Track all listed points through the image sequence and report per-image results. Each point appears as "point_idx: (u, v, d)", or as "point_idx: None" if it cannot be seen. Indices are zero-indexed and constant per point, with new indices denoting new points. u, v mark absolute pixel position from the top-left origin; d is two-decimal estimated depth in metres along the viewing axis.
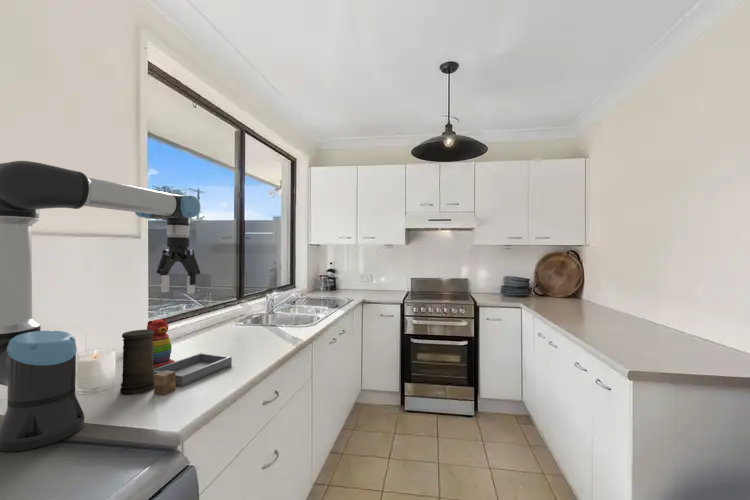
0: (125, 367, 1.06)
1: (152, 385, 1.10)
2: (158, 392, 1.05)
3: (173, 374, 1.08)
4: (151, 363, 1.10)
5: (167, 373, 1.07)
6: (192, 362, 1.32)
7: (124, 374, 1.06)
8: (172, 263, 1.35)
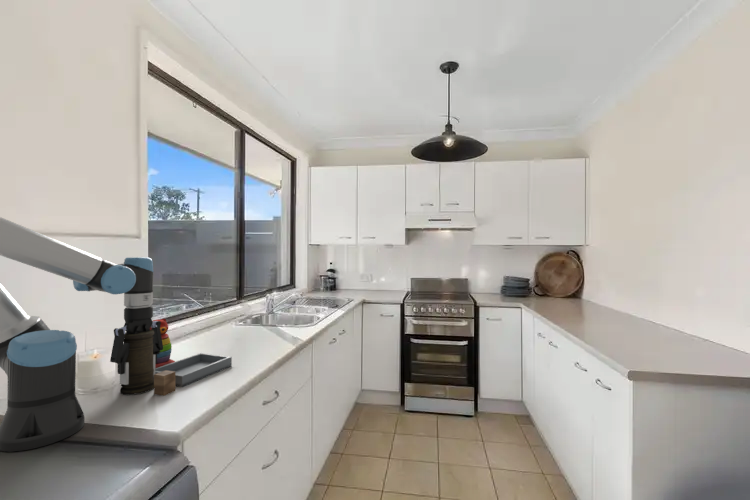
0: None
1: (152, 385, 1.10)
2: (158, 392, 1.05)
3: (173, 374, 1.08)
4: (151, 363, 1.10)
5: (167, 373, 1.07)
6: (192, 362, 1.32)
7: None
8: None
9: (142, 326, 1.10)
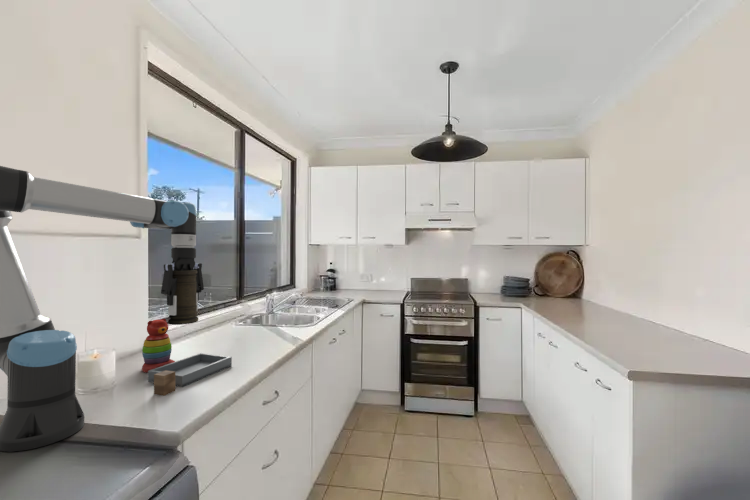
0: None
1: (196, 318, 1.21)
2: (158, 392, 1.05)
3: (173, 374, 1.08)
4: (195, 299, 1.21)
5: (167, 373, 1.07)
6: (192, 362, 1.32)
7: None
8: None
9: (187, 265, 1.21)
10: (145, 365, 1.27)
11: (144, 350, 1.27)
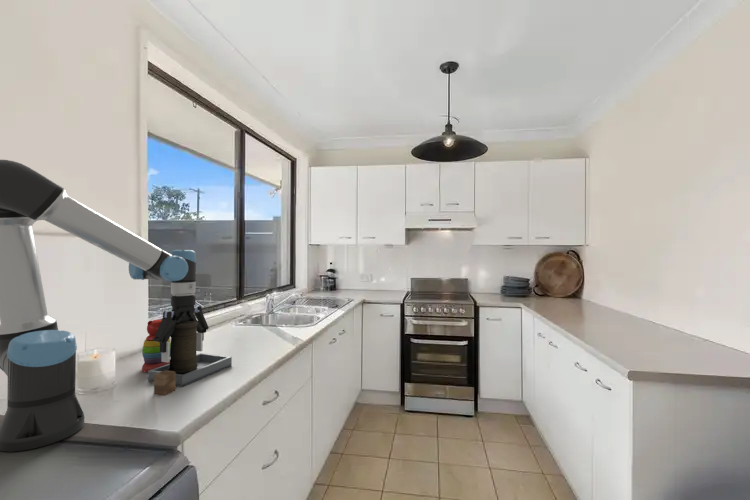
0: (173, 353, 1.17)
1: None
2: (158, 392, 1.05)
3: (173, 374, 1.08)
4: (195, 351, 1.21)
5: (167, 373, 1.07)
6: None
7: (172, 360, 1.17)
8: None
9: (186, 313, 1.21)
10: (145, 365, 1.27)
11: (144, 350, 1.27)
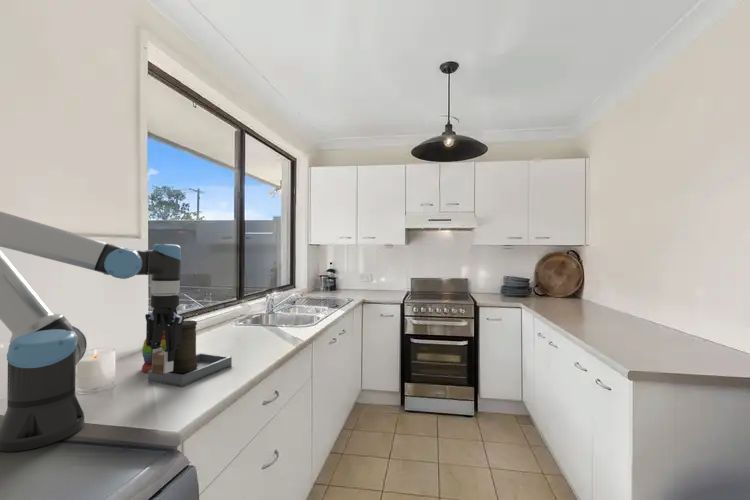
0: None
1: None
2: (156, 371, 1.05)
3: None
4: (195, 351, 1.21)
5: None
6: None
7: None
8: (161, 328, 1.08)
9: None
10: (145, 365, 1.27)
11: (144, 350, 1.27)
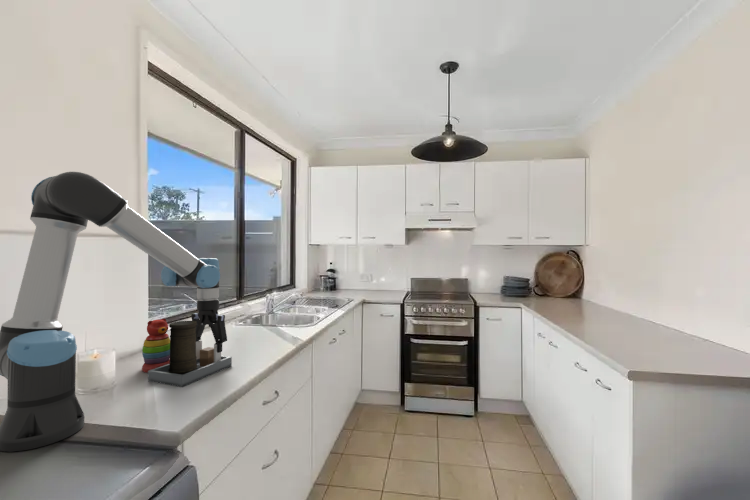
0: (172, 354, 1.17)
1: None
2: (203, 364, 1.29)
3: None
4: (194, 351, 1.21)
5: (210, 349, 1.31)
6: None
7: (171, 360, 1.17)
8: (203, 326, 1.32)
9: None
10: (145, 365, 1.27)
11: (144, 350, 1.27)
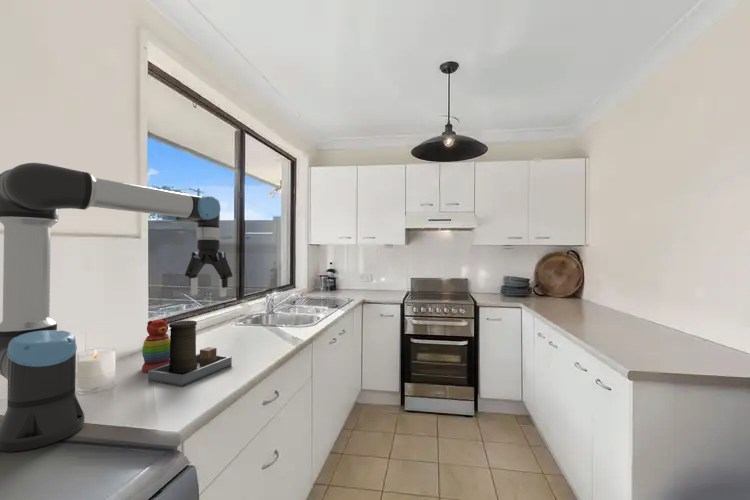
0: (172, 354, 1.17)
1: None
2: (203, 364, 1.29)
3: (215, 350, 1.32)
4: (194, 351, 1.21)
5: (210, 349, 1.31)
6: None
7: (171, 360, 1.17)
8: (201, 266, 1.33)
9: None
10: (145, 365, 1.27)
11: (144, 350, 1.27)
